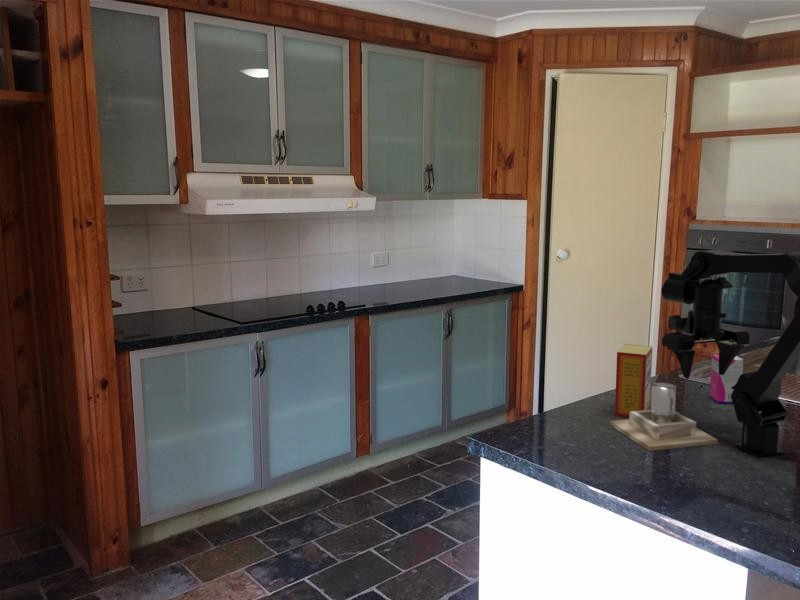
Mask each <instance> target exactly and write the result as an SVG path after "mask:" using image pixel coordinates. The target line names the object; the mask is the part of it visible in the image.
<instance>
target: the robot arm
mask: <svg viewBox="0 0 800 600" xmlns="http://www.w3.org/2000/svg"><path fill="white" fill-rule="evenodd" d="M734 273H749V274H750V273H752V274H753V273H756V274H760V273H765V274H766V273H767V274H770V273H771V274H772V273H773V274H782V275H783V277H784V278H785V280H786V283H787V284H788V286H789V289H790V291H791V292H792V293H793V294H795V296H796V297H797V298H796V299H795V301H794V305H793V306H794V307H793V317H792V319H791V320H790V322H789V324H788V325H787V326H786V328H785V329H784V331H782V334H781V335H780V336H779V338H778V340H777V341H776V343H775V344H774V346H773V347H772V348H771V350H770V351H769V353H768V354H767V355H766V357H765V358H764V360H763V362H762V363H761V364H760V366H759V368H758V369H757V370H755V371H749V372H745V373H743V374H741V375H740V377H739V379H738V381H737V383H736V384H735V385H734V386H733V387H731V389H734V390H733V392H732V394H731V399H732V402H733V404H732V405H733V407H734V411H735V416H736V420H737V422H739V423H742V427H741V428H742V430H741V442H735V446H736V447H738V448H739V449H741V450H744V451H745V452H747V453H749V454H750V455H753V456H755V457H764V456H765V457H767V456H776V455H783V454H784V450H782V449H780V448H778V445H779V444H778V443H779V431H780V425H779V424H778V423H779V422H785V421H786V419H787V417H788V416H789V412H788V410H787V409H786V407H785V406H784V405H783V403H782V402H781V401H780V399H779V397H780V396H781V393H782V381H783V380H784V378H785V377H786V376H787V374H788V373H789V371H790V370H791V369H792V367H793V366H794V364H795V362H797V360H798V358H799V357H800V251H799V252H795V251H794V252H787V253H785V252H784V253H751V254H749V253H747V254H745V253H744V254H742V253H737V252H734V251H732V250H731V251H730V250H725V249H708V250H699V251H695V252H694V253H693V255H692V256H691V258H690V262H689V263H688V265H686V267H685V268H684V270H683V271H682V273H681V272H676V271H675V272H669V273H668V278H667V279H666V280H665V281H664V283H663V285H662V287H661V295H662V297H663V299H664V300H665V301H666V302H671V303H678V304H686V305H692V304H693V308H692V310H688V314H687V317H681V316H680V315H681V314H675V315H674V314H673V315H672V314H671V315H669V316H668V320H667V321H668V322H667V325H668V329H669V331H674V332H666V333H664V335H662V338H661V346H663V347H666V348H667V350H670V351H672V352H673V353H674V354H675V357H676V358H677V361H678V363H679V365H680V366H679V367H680V369H681V373H682V375H683V378H684V379H685V380H688V379H690V375H691V372H692V368H693V363H694V358H695V353H696V350H695V349H693V348H694V347H695V345H696V344H707V343H715V345H716V346H717V348H718V355H719V374H720V375H724V374H725V372H726V371H727V369H728V367H729V366H730V364H731V363H732V361H733V360H734V358H735V357H736V356H738V354H739V352H740V351H741V350H742V349H745V347H746V345H750V340H751V335H750V334H749V332H748V330H744V329H740V328H737V327H736V328H735V327H734V326H733V327H731V326H730V327H723V328H722V319H726V317H727V313H726V312H723V294H724V290H727V289H733V287H734V285H733V284H732V283H731V282H730V281H728V280H727V278H726V277H725V275H729V274H734ZM718 276H719V277H718ZM721 276H722V277H721ZM713 277H717V278H716V279H712V278H713ZM700 280H702V281H700Z"/></svg>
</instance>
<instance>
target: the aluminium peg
mask: <svg viewBox="0 0 800 600" xmlns="http://www.w3.org/2000/svg"><path fill="white" fill-rule="evenodd" d="M676 392H677V386H676V385H675V384H671V383H667V382H654V383H651V391H650V408H649V410H650V420H651V421H652V422H654V423H656V424H662V423H672V422H674V418H675V411H676V396H677V395H676Z"/></svg>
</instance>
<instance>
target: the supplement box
mask: <svg viewBox="0 0 800 600" xmlns="http://www.w3.org/2000/svg"><path fill="white" fill-rule="evenodd" d="M710 363H711V364H710V367H711V368H710V388H709V389H710V390H709V398H711V399H712V400H713V401H714V402H715V403H717V404H719V405H720V404H721V405H724V404H725V405H726V404H728V405H729V404H730V405H733V402H732V399H731V394H732V392H733V390H734V389H731V387H733V386H734V385H735V384H736V383H737V381H738V379H739V377H740V375H741V374H744V373H743V370H744V365H743V364H744V359H743V358H742V357H739V356H738V355H736V357H735V358H734V360H733V361H732V363H731V364H730V366H729V367H728V369H727V371H726V372H725V374H724V375H720V374H719V354H711V362H710Z"/></svg>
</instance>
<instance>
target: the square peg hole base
mask: <svg viewBox="0 0 800 600" xmlns="http://www.w3.org/2000/svg"><path fill="white" fill-rule="evenodd" d="M609 426H611V427H612V428H614V429H615V430H617V431H618V432H620V433H621V434H622V435H624V436H625V437H627V438H629V440H630V439H631V440H632V441H633V442H634V443H635V444H638V445H639V446H640V447H642V448H644V449H646V450H647V452H652V451H653V452H655V451H663V450H664V451H665V450H674V449H681V448H690V447H700V446H711V445H717V444H718V441H719V440H718V438H716V437H714V436H712V435H710V434H708V433H707V432H705V431H702V430H701V429H700V428H697V421H695V420H693V419H690V418H688V416H685V415H684V414H682V413H680V412H678V411H676V410H675V418H674V422H672V423H662V424H656V423H654V422H652V421H651V420H650V409H649V410H641V411H630V415H629V417H628V418H627V419H615V420H609Z"/></svg>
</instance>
